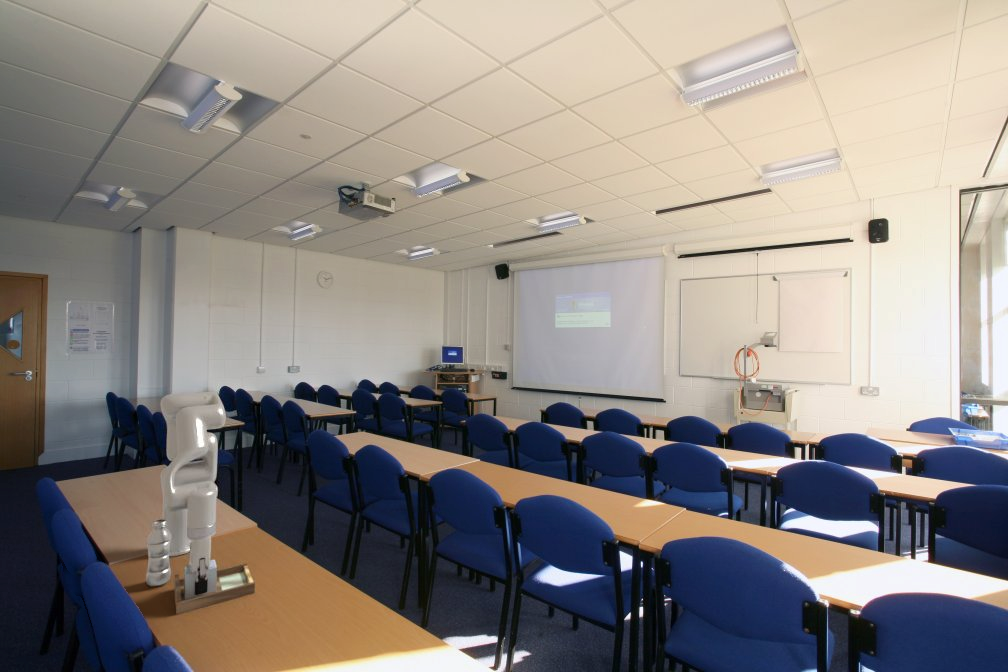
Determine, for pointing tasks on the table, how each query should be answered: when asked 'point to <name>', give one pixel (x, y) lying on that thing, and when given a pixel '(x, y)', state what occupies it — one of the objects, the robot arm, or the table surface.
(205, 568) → the robot arm
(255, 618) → the table surface
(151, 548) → the plastic bottle
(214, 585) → the grey block
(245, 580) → the bay
